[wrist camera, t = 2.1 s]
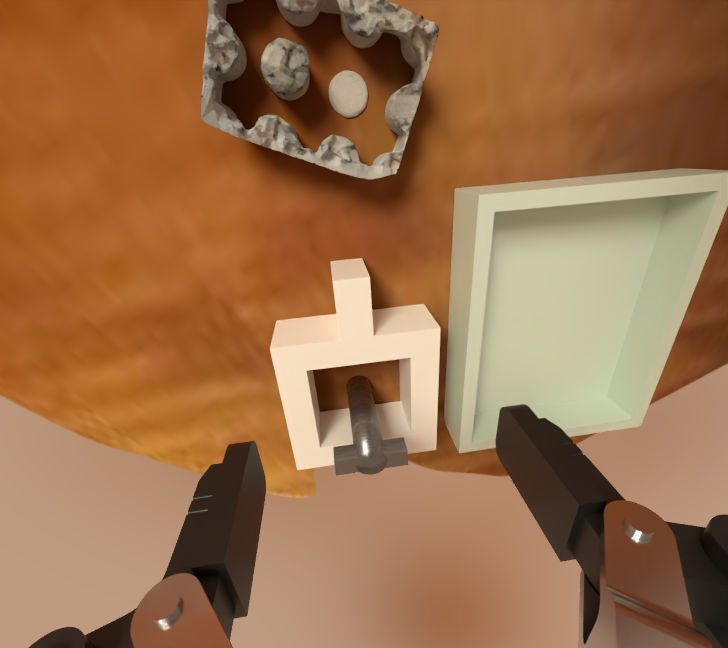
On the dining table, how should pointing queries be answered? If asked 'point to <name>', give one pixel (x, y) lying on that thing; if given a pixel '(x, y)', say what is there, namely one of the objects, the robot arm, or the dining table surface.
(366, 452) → the T-head stake
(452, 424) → the tray
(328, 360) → the cream rectangular frame
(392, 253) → the dining table surface
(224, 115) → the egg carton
